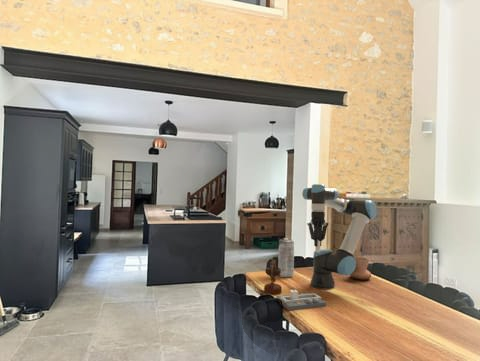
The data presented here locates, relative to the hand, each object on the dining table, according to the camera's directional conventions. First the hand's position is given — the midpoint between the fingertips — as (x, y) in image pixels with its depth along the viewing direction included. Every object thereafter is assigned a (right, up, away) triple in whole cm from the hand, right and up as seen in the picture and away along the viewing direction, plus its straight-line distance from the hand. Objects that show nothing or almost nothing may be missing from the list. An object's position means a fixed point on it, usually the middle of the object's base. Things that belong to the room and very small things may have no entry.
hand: (317, 251), depth 180 cm
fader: (-15, -24, -10) cm, 30 cm away
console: (-12, -26, -9) cm, 30 cm away
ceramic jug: (+40, -28, +41) cm, 64 cm away
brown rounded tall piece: (-25, -27, +10) cm, 38 cm away
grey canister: (-12, -28, +45) cm, 54 cm away
